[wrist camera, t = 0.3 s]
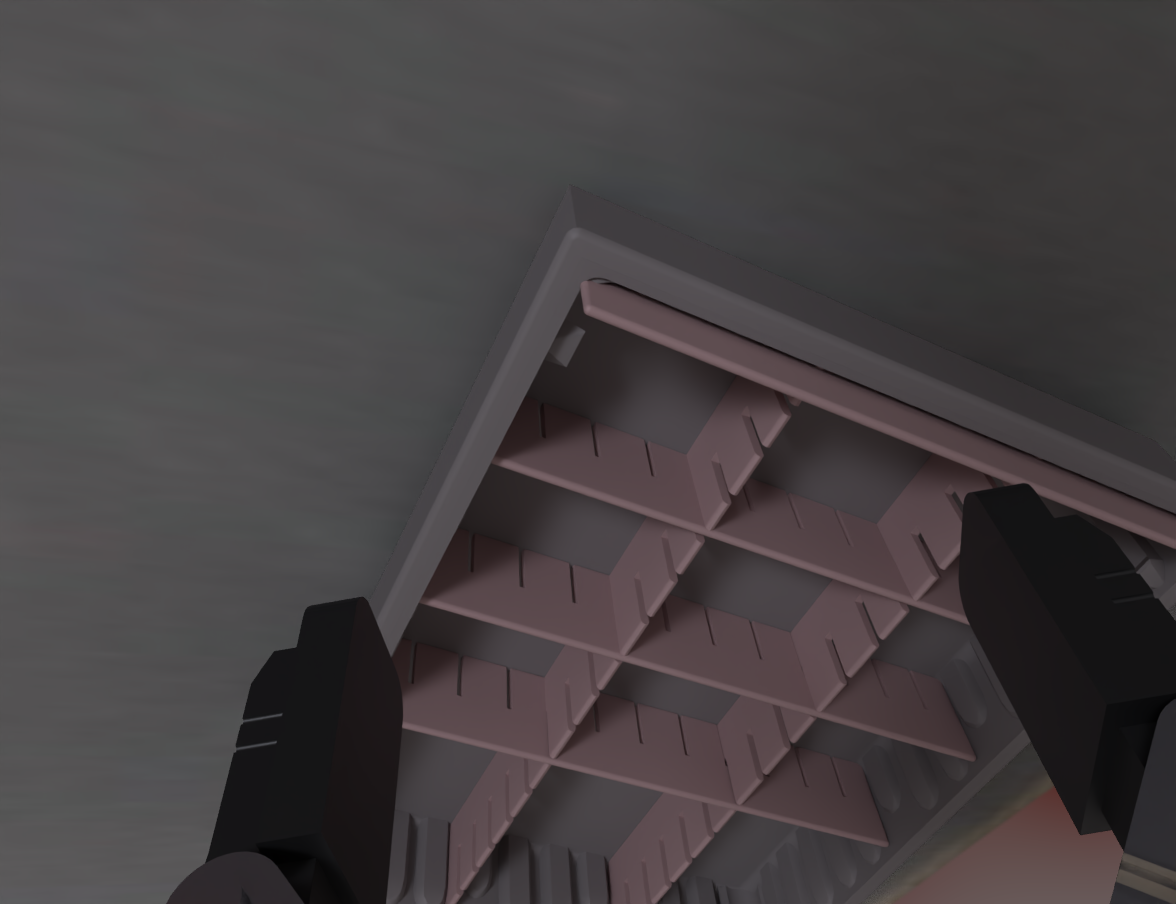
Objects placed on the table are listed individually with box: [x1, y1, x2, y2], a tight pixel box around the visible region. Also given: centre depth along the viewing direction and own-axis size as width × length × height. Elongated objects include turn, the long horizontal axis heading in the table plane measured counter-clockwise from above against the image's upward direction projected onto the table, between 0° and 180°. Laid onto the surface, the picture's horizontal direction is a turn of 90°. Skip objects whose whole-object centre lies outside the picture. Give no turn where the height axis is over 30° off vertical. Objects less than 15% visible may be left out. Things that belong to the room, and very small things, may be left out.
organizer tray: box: [369, 185, 1176, 904], centre depth 50 cm, size 32×40×10 cm
